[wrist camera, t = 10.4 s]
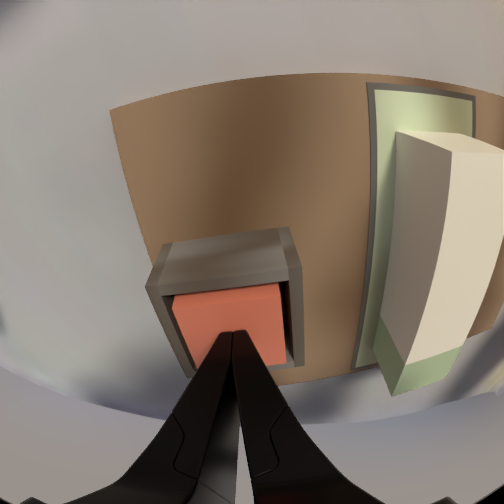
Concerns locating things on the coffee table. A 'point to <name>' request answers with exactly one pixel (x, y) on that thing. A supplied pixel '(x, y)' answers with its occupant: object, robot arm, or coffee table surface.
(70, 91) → the coffee table surface
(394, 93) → the brown control panel
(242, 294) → the button
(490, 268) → the block
